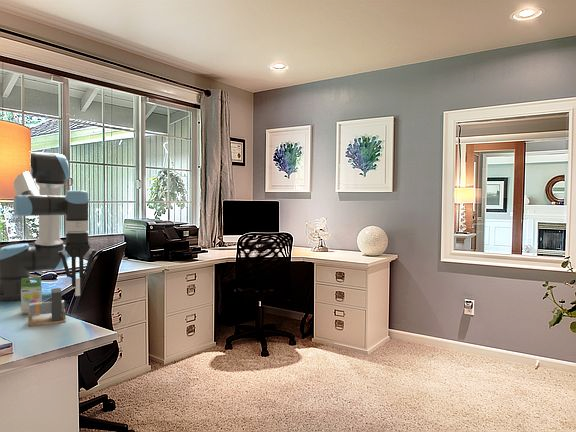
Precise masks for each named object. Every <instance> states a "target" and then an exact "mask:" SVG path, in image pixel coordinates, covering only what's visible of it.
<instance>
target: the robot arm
mask: <svg viewBox="0 0 576 432" xmlns="http://www.w3.org/2000/svg"><path fill="white" fill-rule="evenodd" d="M30 152H31V174H30V172H29V171H25V172H23V173H21V174H20V175H18V176H17V178H16V179H15V181H14V186H13V188H14V192H15V194H16V195H15V196H14V198H13V210H14V211H13V213H14V214H15V215H16V216H20V217H22V216H25V217H30V216H31V217H32V216H38V238H37V239H36V240H35V241H34V246H32V245H30V243H16V244H11V245H6V246H3V247H1V248H0V301H1V302H7V301H8V302H10V301H20V300H21V278H30V273H35V272H36V273H37V272H49V271H50V272H53V271H58V270H59V271H60V270H62V269H64V271H65V275H66V278H69V279H71V286H72V288H74V290H75V291H74V295H75V297H80V296H81V287H83V286H84V278H85V277H89V275H90V271H91V268H92V262H93V258H94V256H95V255H96V253H97V250H96V249H93V248H92V247H91V246H90V242H89V233H88V231H89V201H90V199H89V193H88V191H86V190H67V191H66V192H65V195H62V188H63V186H64V185H65V184H66V181H67V180H69V178H70V174H71V173H70V172H71V171H70V166H69V161H68V159H67V157H66V156H65V155H64V154H61V153H54V152H53V153H52V152H36V151H35V152H33V151H30ZM61 216H65V232H66V233H65V244H64V240H63V239H61ZM87 253H88V255H89V256H88V257H87V258H88V259H87V263H86V267H85V270H84V256H86V254H87ZM68 255H69V256H70V257H71V272H70V270H69V266H68V265H69V264H68V262H67V260H68ZM76 258H78V260H79V261H78V264H79V265H78V266H79V267H78V269H79V276H77V275H76V274H77V273H76V271H77V270H76V269H77V267H76V266H77V264H76V263H77V262H76V261H77V259H76ZM31 281H32V280H29V281H26V283H32V282H31Z"/></svg>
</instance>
